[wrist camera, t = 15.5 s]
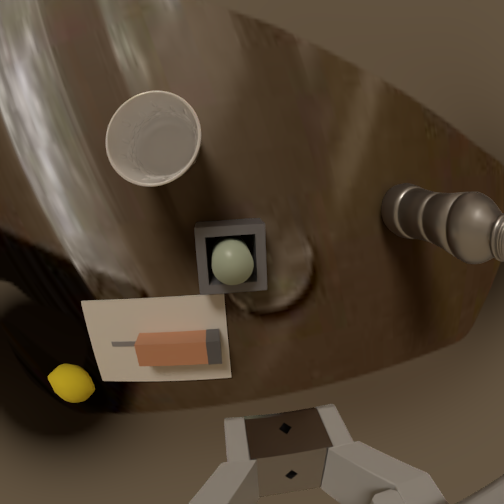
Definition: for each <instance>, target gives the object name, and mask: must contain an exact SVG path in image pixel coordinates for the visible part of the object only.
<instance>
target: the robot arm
mask: <svg viewBox="0 0 504 504" xmlns="http://www.w3.org/2000/svg"><path fill="white" fill-rule="evenodd" d="M224 425H225V438H226V452H227V462H224V463H221V464H220V465H219V467H218V468H217V469H216V470H215V472H214V473H213V474H212V475H211V477H210V478H209V479H208V480H207V482H206V483H205V484H204V485H203V487H202V488H201V489H200V490H199V491H198V493H197V494H196V495H195V496H194V497H193V499H192V500H191V501H190V502H189V503H188V504H257V502H258V500H259V497H264V496H270V495H276V494H282V493H288V492H294V491H301V490H307V489H313V488H318V487H321V489H322V490H324V491H325V492H326V493H328V494H329V495H330V496H331V497H333V498H334V499H335V500H337V501H338V502H340V503H341V504H448V502H447V501H446V499H445V498H444V496H443V495H442V493H441V492H440V490H439V489H438V487H437V486H436V484H435V483H434V481H433V480H432V478H431V477H430V475H429V474H428V473H426V472H424V471H422V470H419V469H417V468H415V467H413V466H410V465H408V464H406V463H404V462H401V461H399V460H397V459H395V458H393V457H391V456H389V455H387V454H385V453H382V452H380V451H378V450H376V449H374V448H372V447H370V446H368V445H366V444H364V443H362V442H360V441H356V442H354V441H353V439H352V437H351V435H350V433H349V431H348V430H347V428H346V426H345V424H344V422H343V420H342V418H341V416H340V414H339V412H338V410H337V408H336V407H335V405H334V404H329V405H324V406H318V407H315V408H309V409H302V410H296V411H290V412H284V413H277V414H268V415H256V416H244V418H243V417H234V418H225V421H224ZM455 504H504V474H503V475H502V476H500V477H499V478H497V479H496V480H494V481H493V482H491V483H489V484H488V485H487V486H485V487H483V488H481V489H480V490H478V491H477V492H475V493H473V494H471V495H470V496H468V497H466V498H465V499H463V500H461V501H459V502H457V503H455Z"/></svg>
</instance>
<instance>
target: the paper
mask: <svg viewBox="0 0 504 504" xmlns="http://www.w3.org/2000/svg"><path fill="white" fill-rule="evenodd" d="M81 304H82V308H83V312H84V316H85V321H86V325H87V328H88V332H89V336H90V340H91V343H92V347H93V350H94V354H95V357H96V361H97V364H98V367H99V370H100V374H101V377H102V380H103V381H184V380H204V379H220V378H232V377H231V366H230V356H229V345H228V334H227V322H226V310H225V298H224V293H222V294H209V295H189V296H173V297H155V298H137V299H115V300H90V301H81ZM206 329H219V331H220V341H221V352H222V364H210V365H209V364H197V365H175V366H139V363H138V359H137V355H136V351H135V346H134V344H135V342H136V340H137V337H138V335H139V333H157V332H179V331H196V330H206Z"/></svg>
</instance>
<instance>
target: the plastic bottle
mask: <svg viewBox="0 0 504 504" xmlns="http://www.w3.org/2000/svg"><path fill="white" fill-rule="evenodd" d="M381 214H382V218H383V221H384V223H385V225H386V227H387V228H388V229H389V230H390V231H391V232H393V233H394V234H395V235H397V236H399V237H401V238H407V239H419V240H423V241H428V242H430V243H433V244H435V245H437V246H439V247H441V248H443V249H444V250H446V251H447V252H449V253H450V254H452V255H453V256H455V257H456V258H458V259H459V260H461V261H463V262H465V263H468V264H480V263H483V262H486V261H488V260H490V259H492V258H493V257H494V258H495V259H496V260H498V261H502V262H504V213H503V214H502V213H501V211H500V209H499V208H498V207H497V205H496V204H495V203H494V201H493V200H492V199H490V198H489V197H487V196H486V195H484V194H482V193H479V192H461V193H437V192H433V191H429V190H425V189H423V188H421V187H419V186H416V185H413V184H410V183H404V184H399V185H396V186H394V187H392V188H390V189H389V190H388V191H387V193H386V194H385V196H384V198H383V201H382V207H381Z"/></svg>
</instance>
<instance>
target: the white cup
mask: <svg viewBox="0 0 504 504" xmlns="http://www.w3.org/2000/svg"><path fill="white" fill-rule="evenodd" d="M200 148H201V127H200V122H199V119H198V117H197V115H196V113H195V111H194V110H193V108H192V107H191V106H190V105H189V104H188V103H187V102H186V101H185V100H184V99H182V98H181V97H179V96H177V95H175V94H173V93H170V92H166V91H148V92H144V93H141V94H138V95H136V96H134V97H132V98H130V99H129V100H127V101H126V102H125V103H124V104H122V105H121V106H120V107H119V109H118V110H117V111H116V112H115V114H114V115H113V117H112V119H111V121H110V123H109V126H108V129H107V133H106V151H107V155H108V158H109V161H110V163H111V165H112V167H113V168H114V169H115V171H116V172H117V173H118V174H119V175H120V176H121V177H122V178H124V179H125V180H127V181H129V182H131V183H133V184H136V185H139V186H145V187H154V186H161V185H164V184H167V183H170V182H172V181H174V180H175V179H177V178H179V177H181V176H182V175H184V174H185V173H186V172H187V171H188V170H190V169H191V167H192V166H193V165H194V163H195V162H196V160H197V158H198V155H199V152H200Z"/></svg>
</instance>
